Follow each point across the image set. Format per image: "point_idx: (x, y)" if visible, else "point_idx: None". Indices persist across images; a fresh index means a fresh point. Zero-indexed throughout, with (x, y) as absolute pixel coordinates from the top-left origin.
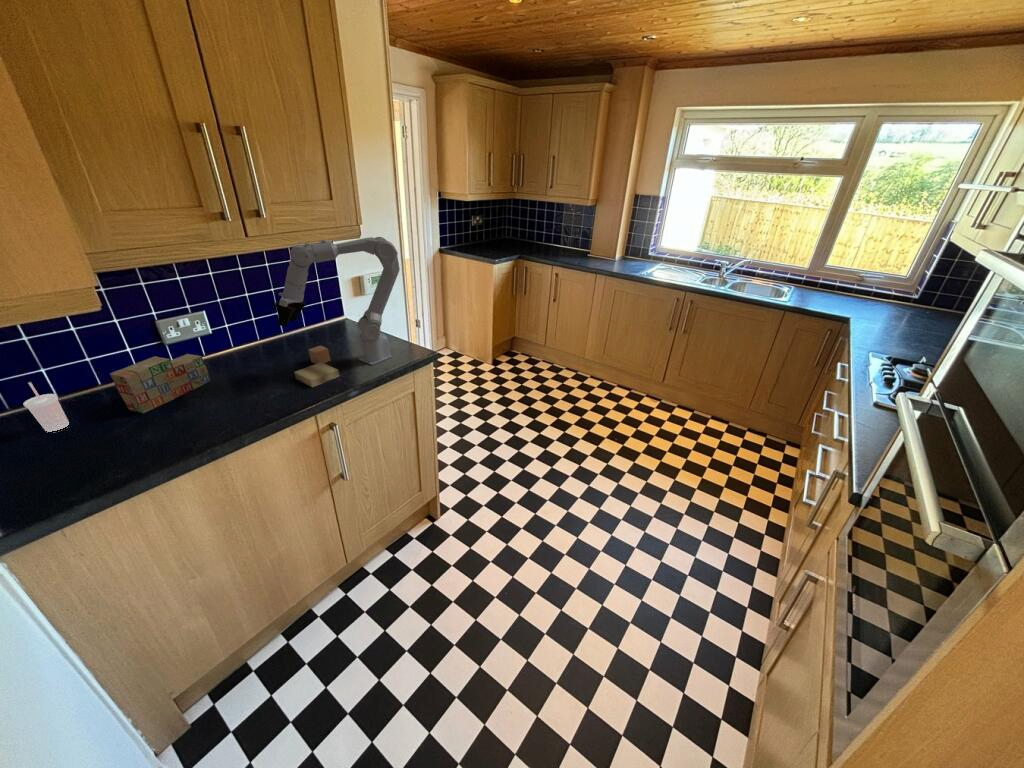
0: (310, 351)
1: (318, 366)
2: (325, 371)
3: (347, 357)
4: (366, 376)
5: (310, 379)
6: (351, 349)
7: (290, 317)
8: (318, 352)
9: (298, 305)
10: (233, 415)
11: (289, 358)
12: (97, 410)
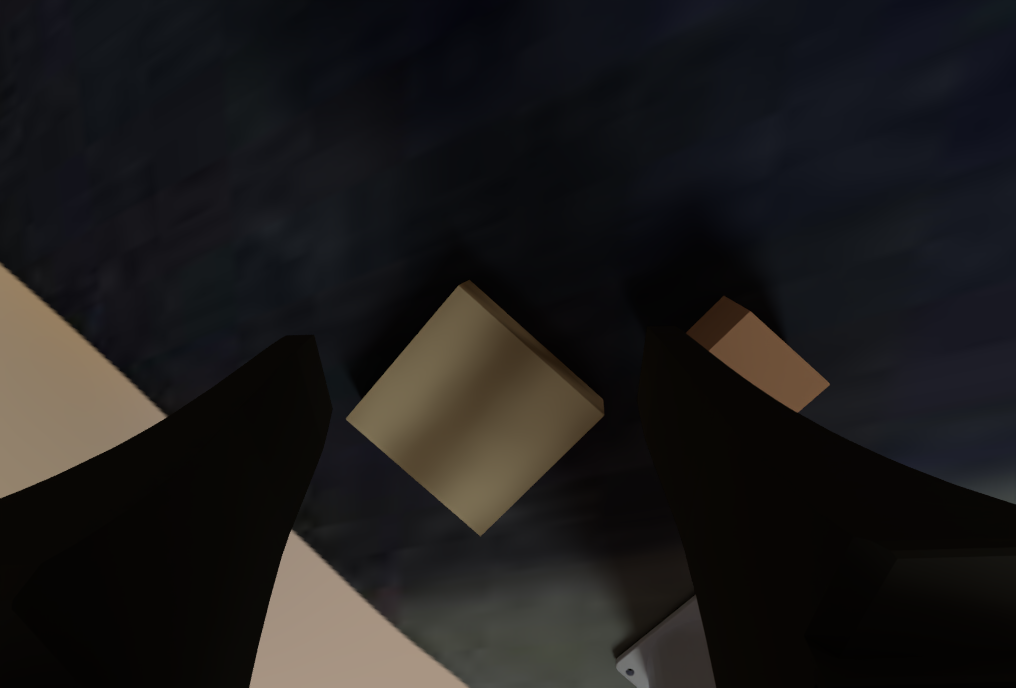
0: (727, 328)
1: (534, 414)
2: (460, 471)
3: None
4: (480, 641)
5: (359, 414)
6: None
7: (660, 377)
8: None
9: (744, 672)
10: (84, 111)
11: (813, 109)
12: None
